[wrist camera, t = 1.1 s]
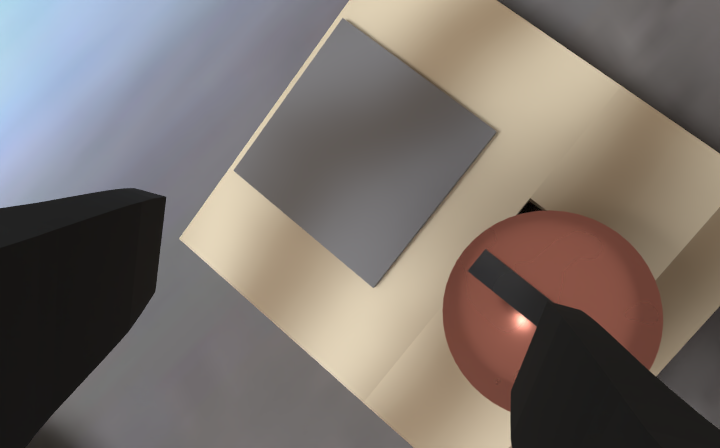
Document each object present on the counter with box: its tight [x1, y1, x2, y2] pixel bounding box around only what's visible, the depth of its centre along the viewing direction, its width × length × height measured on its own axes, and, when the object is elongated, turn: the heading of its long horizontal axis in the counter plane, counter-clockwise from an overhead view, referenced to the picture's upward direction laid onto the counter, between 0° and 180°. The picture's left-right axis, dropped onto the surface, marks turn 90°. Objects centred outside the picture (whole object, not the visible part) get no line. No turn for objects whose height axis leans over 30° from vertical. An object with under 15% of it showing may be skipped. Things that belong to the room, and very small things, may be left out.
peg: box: [442, 210, 663, 412], centre depth 18 cm, size 5×5×7 cm
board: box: [179, 0, 720, 448], centre depth 21 cm, size 15×13×3 cm
